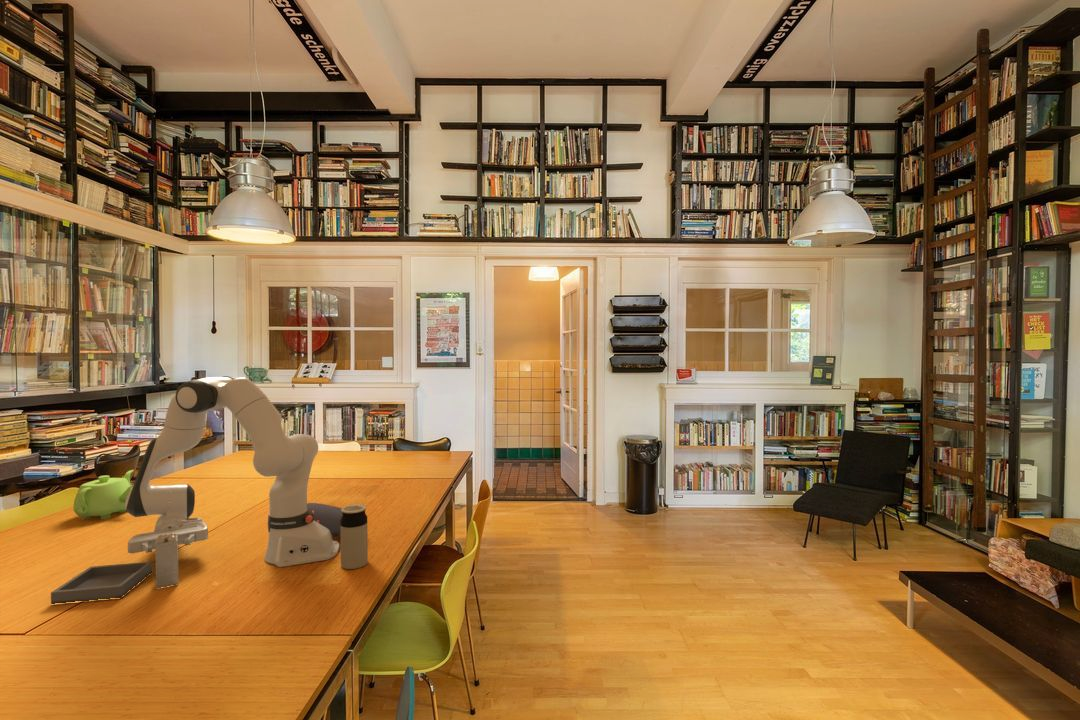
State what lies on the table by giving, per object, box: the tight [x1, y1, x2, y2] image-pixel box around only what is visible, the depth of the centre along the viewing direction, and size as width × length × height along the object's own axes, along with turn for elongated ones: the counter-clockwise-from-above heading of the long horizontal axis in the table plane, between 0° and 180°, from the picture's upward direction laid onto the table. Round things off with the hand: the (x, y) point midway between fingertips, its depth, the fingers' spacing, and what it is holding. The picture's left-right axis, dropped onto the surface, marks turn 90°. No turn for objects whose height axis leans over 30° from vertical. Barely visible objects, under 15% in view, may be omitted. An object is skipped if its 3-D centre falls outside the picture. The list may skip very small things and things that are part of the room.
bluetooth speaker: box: [307, 502, 343, 537], centre depth 184 cm, size 23×9×10 cm, turn 62°
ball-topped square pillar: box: [154, 533, 179, 590], centre depth 144 cm, size 5×5×15 cm
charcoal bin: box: [50, 561, 154, 605], centre depth 142 cm, size 16×16×4 cm
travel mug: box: [340, 504, 369, 570], centre depth 158 cm, size 8×8×18 cm
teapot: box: [73, 469, 135, 520], centre depth 205 cm, size 25×22×16 cm
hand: (168, 546), depth 151 cm, fingers open, 8 cm apart
